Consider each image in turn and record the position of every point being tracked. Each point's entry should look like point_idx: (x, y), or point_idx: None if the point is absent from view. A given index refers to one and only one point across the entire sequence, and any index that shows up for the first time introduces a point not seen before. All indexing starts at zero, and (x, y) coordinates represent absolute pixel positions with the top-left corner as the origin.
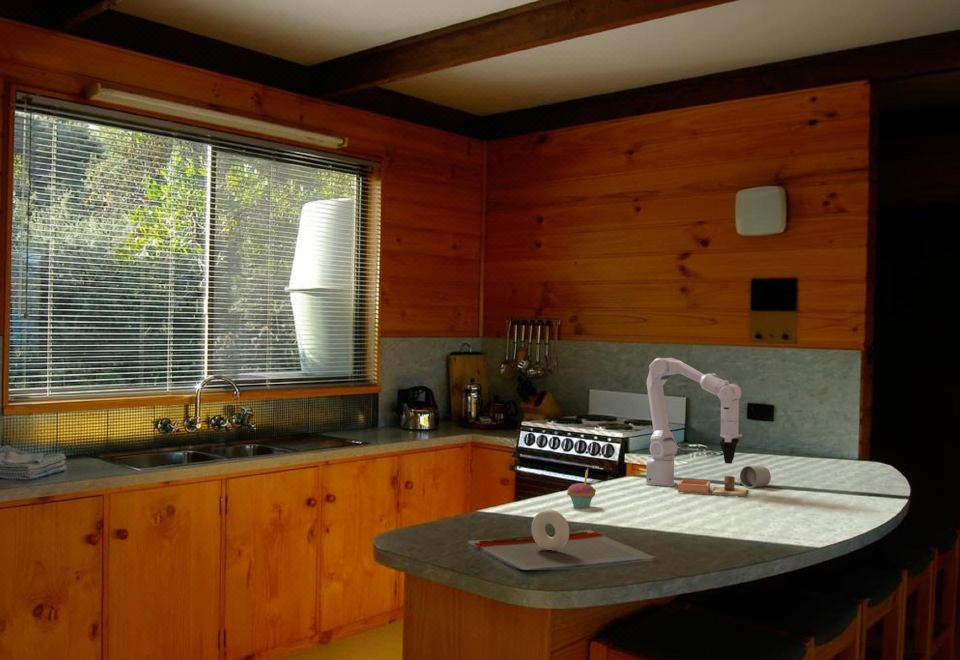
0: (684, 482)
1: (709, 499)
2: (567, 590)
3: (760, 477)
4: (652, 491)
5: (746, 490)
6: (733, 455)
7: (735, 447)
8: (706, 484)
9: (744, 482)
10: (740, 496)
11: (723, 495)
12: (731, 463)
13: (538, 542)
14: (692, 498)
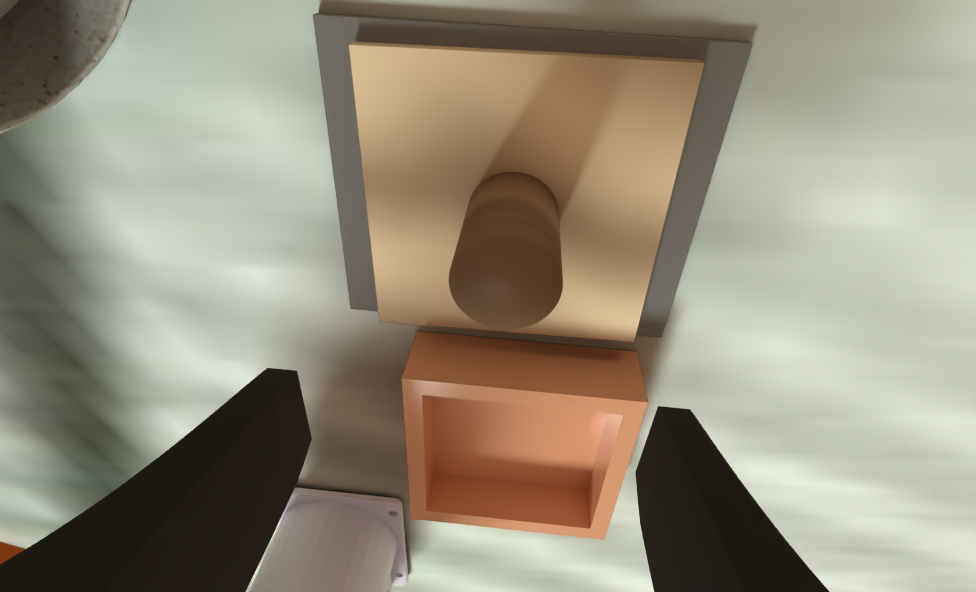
0: (429, 490)
1: (838, 347)
2: None
3: None
4: (584, 566)
5: (362, 38)
6: (251, 430)
7: (126, 573)
8: (593, 409)
9: (30, 60)
10: (728, 111)
11: (684, 256)
12: (689, 410)
13: None
14: (796, 433)
